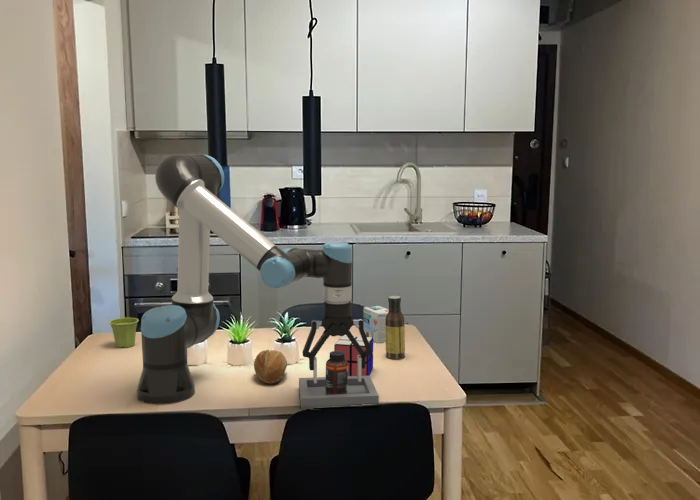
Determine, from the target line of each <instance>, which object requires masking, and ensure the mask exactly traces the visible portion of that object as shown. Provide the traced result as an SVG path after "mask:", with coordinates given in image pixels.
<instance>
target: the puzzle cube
mask: <svg viewBox="0 0 700 500" xmlns="http://www.w3.org/2000/svg"><path fill="white" fill-rule="evenodd" d="M353 336H354V338H355V339H356V341H357V342H358V344H359V345H360V346H361V348H362V349H363V351H364V350H366V348H365V345H364V342H363V340H362V337H361V336H357V335H356V336H355V335H353ZM367 339H368V342H369V345H370V347H371V350H372V355H368V356H366V358H365V369H361V376H370V374H371V372H372V371H373V369H374V354H373V353H374V341H373V338H372V337H367ZM333 350H334V351H342V352H344V359H345V360H346V361H347V362H348V376H357V355H360V354H359V352H358V351H357V349H356V348H355V347H354V345H353V344H352V342H351V341H350V340H349V338H348V337H347V335H344V336H339V338H338V340H337V341H336V342H335V343H334V347H333Z"/></svg>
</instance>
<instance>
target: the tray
mask: <svg viewBox="0 0 700 500" xmlns="http://www.w3.org/2000/svg"><path fill="white" fill-rule="evenodd" d="M325 388H326V376H319V377H318V376H317V383H314V380H313V377H298V393H299V400H300V401H299V402H300V407H301V408H300V409H301V411H303V410H306V409H310V410H314V409H313V408H319V407H332V406H351V405H362V404H379V400H380V399H379V397H380V395H379V393H378V391H377V389H376V386H375V385H374V382H373V380H372V378H371V376H370V375H369V376H361V382H358V379H357V376H348V383H347V393H346V394H337V395H328V394H326V389H325Z"/></svg>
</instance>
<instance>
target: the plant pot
mask: <svg viewBox="0 0 700 500" xmlns="http://www.w3.org/2000/svg"><path fill="white" fill-rule="evenodd" d="M139 321H140V320H139V318H136V317H120V318H115V319H114V318H113V319H112V320H110V321H109V322H108V323H109V325H110V328H111V329H112V335H113V337H114V343H115V347H117V348H131V347H134V345H135V344H136V333H137V326H138V323H139Z"/></svg>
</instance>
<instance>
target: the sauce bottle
mask: <svg viewBox="0 0 700 500" xmlns="http://www.w3.org/2000/svg"><path fill="white" fill-rule="evenodd" d="M387 298H388V310H389V312H388V314H387V316H386V321H385V337H386V342H385V355H386V358H388V359H390V360H401V359H403V358H404V357H405V355H406V353H405V352H406V344H405V342H406V340H405V339H406V338H405V337H406V336H405V335H406V333H405V332H406V331H405V330H406V328H405V316H404V314H403V313H402V308H401V302H402V298H401V296H399V295H390V296H388V297H387Z"/></svg>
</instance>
